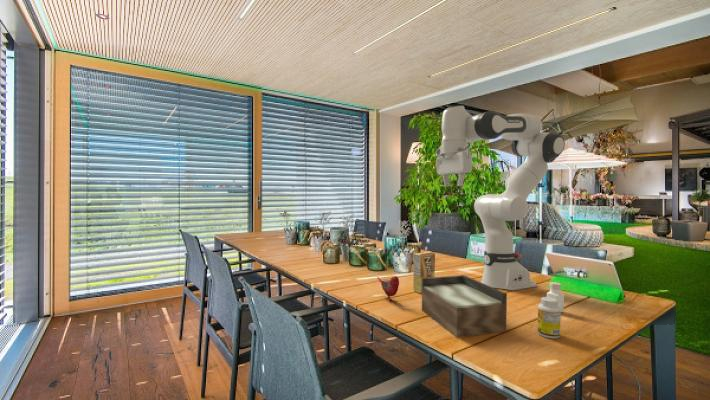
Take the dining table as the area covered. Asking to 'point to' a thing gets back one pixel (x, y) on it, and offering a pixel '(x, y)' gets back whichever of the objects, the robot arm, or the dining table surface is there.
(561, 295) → the white bottle
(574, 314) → the dining table surface
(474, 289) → the open wooden crate
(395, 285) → the decorative bird figurine
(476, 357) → the dining table surface
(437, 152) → the robot arm
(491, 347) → the dining table surface
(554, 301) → the supplement bottle
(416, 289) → the candy box
